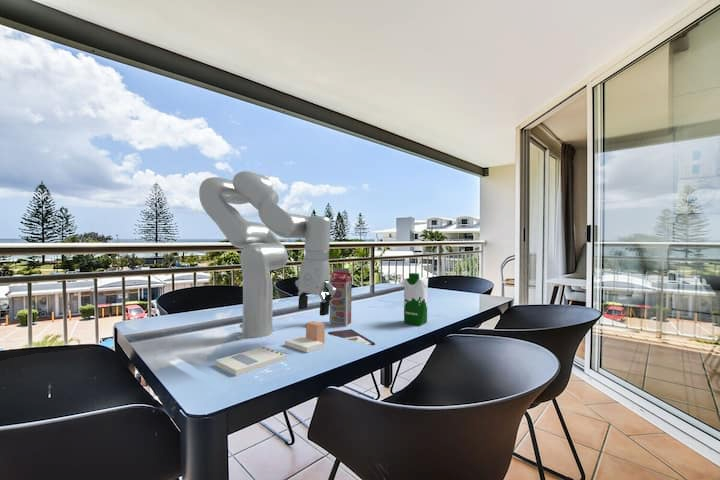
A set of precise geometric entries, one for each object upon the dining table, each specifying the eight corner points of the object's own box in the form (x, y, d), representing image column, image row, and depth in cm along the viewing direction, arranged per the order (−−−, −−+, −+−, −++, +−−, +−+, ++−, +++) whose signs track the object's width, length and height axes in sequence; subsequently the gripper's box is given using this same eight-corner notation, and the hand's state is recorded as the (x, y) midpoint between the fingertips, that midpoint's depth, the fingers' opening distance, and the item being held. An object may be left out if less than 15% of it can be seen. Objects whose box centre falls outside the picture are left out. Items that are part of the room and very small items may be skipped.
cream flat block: (215, 366, 82) (215, 359, 82) (263, 352, 93) (263, 346, 93) (236, 376, 76) (236, 369, 76) (286, 360, 86) (286, 354, 86)
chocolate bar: (351, 329, 121) (374, 343, 104) (351, 331, 121) (374, 346, 104) (328, 331, 117) (348, 346, 100) (328, 334, 117) (348, 349, 100)
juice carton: (335, 321, 134) (336, 267, 134) (351, 322, 132) (351, 267, 132) (329, 325, 128) (330, 268, 128) (345, 326, 126) (346, 269, 126)
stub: (284, 345, 98) (285, 325, 98) (308, 338, 105) (308, 319, 105) (307, 352, 92) (307, 331, 92) (330, 345, 99) (330, 325, 99)
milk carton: (401, 323, 132) (401, 273, 132) (410, 319, 140) (410, 271, 140) (421, 326, 127) (422, 274, 127) (430, 322, 135) (430, 273, 135)
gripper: (288, 254, 104) (285, 308, 104) (327, 259, 93) (323, 319, 93) (307, 253, 110) (304, 305, 110) (345, 258, 99) (341, 315, 99)
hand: (313, 311), depth 102 cm, fingers open, 9 cm apart
